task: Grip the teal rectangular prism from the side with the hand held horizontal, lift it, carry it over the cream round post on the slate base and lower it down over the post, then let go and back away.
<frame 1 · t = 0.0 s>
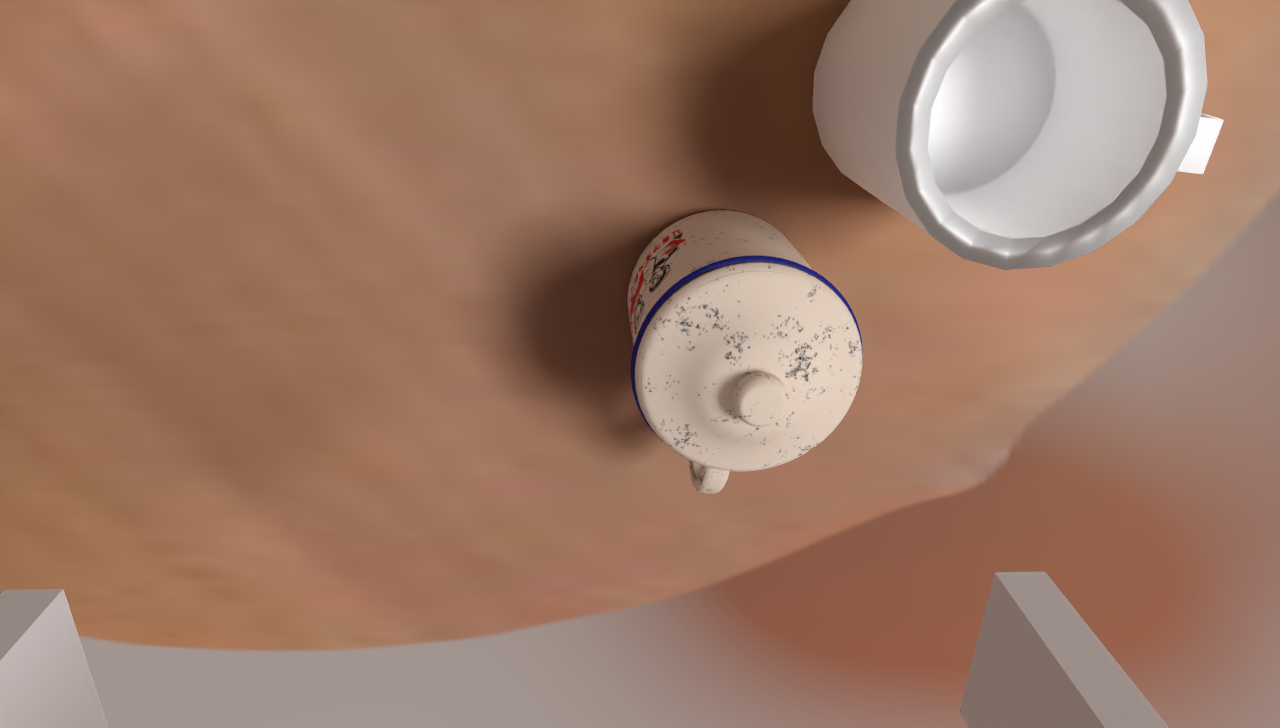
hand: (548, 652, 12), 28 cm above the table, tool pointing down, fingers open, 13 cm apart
teacup with lid: (710, 322, 40), on the table
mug: (947, 93, 37), on the table
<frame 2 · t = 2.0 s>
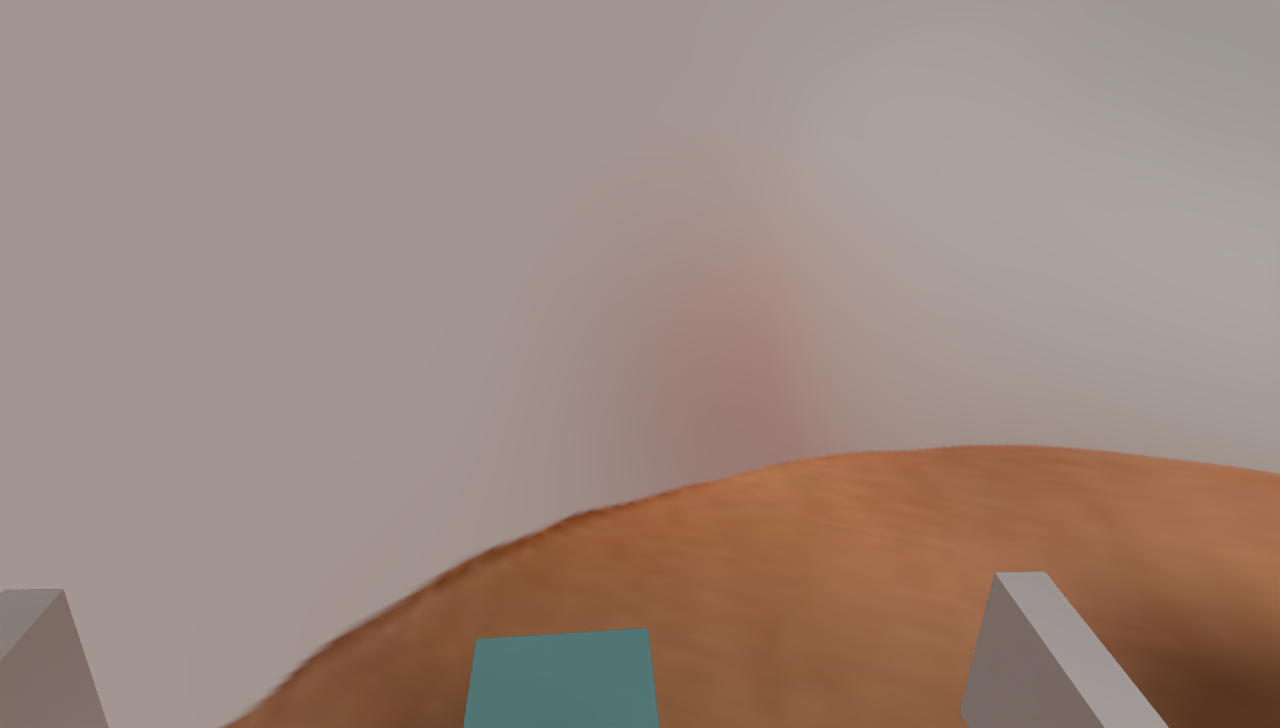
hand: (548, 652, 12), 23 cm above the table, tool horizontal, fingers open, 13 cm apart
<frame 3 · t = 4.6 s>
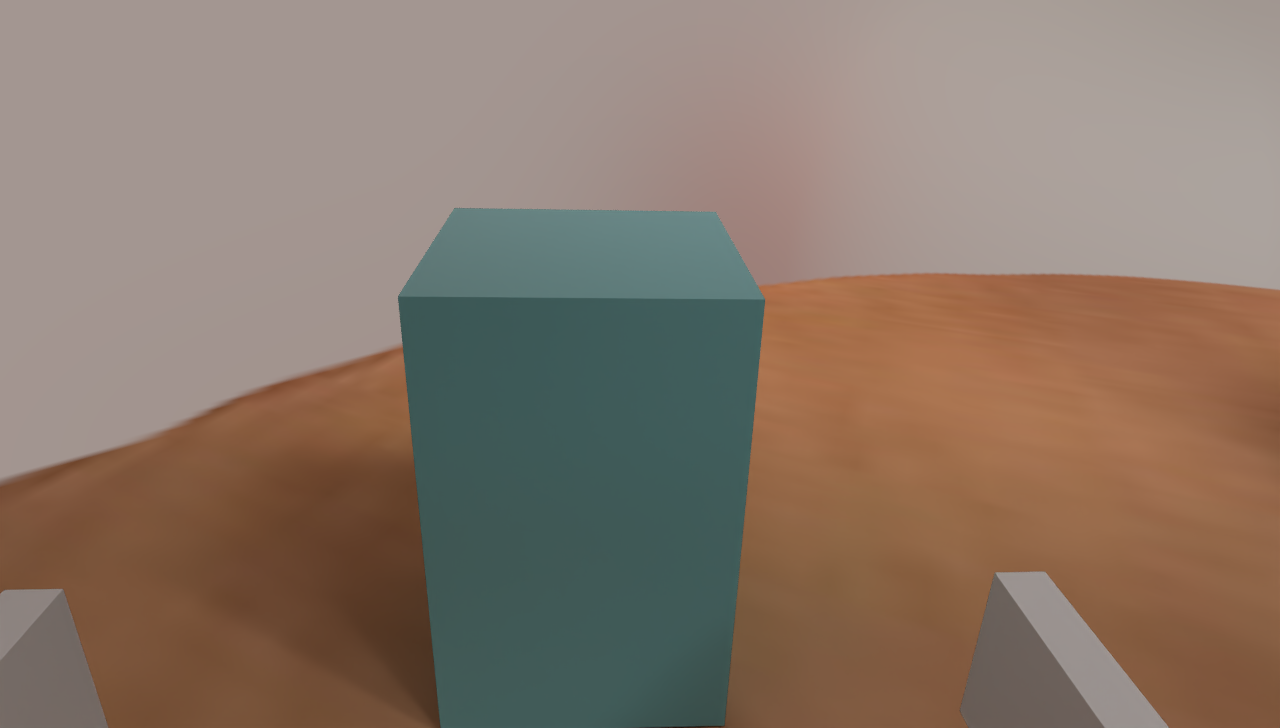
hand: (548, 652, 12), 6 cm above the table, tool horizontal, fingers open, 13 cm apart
teal rectangular prism: (585, 629, 21), on the table
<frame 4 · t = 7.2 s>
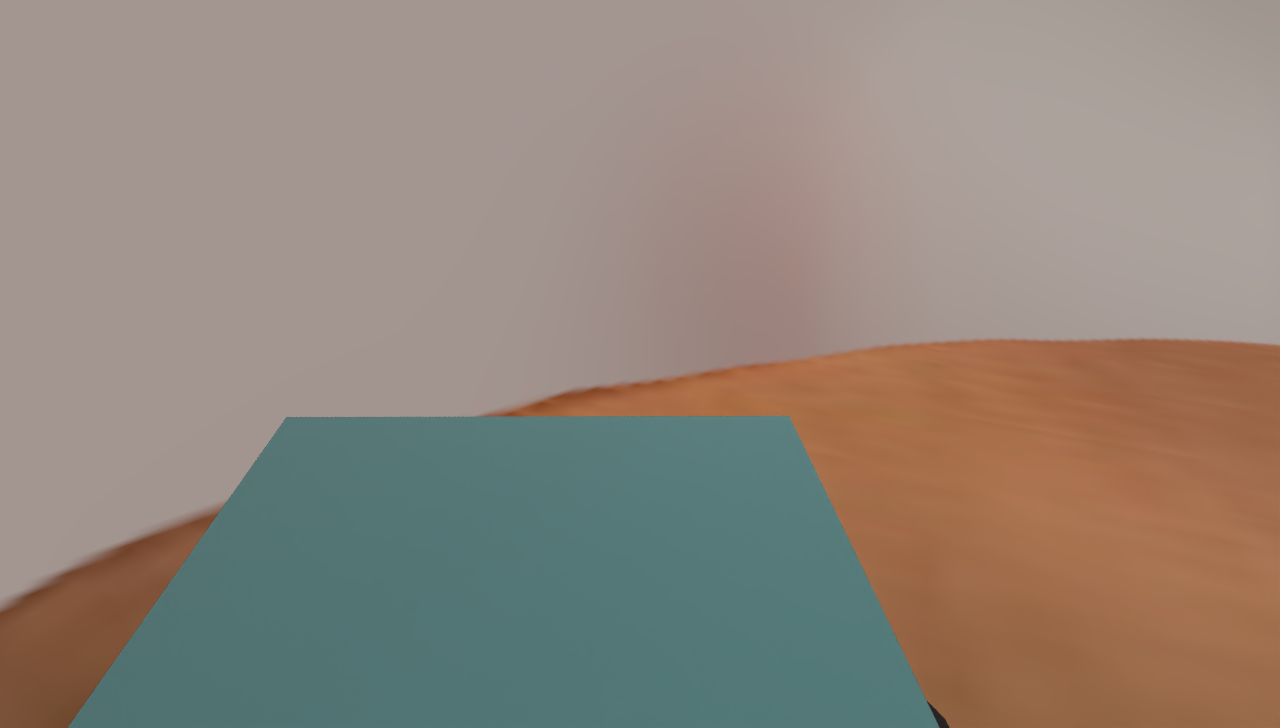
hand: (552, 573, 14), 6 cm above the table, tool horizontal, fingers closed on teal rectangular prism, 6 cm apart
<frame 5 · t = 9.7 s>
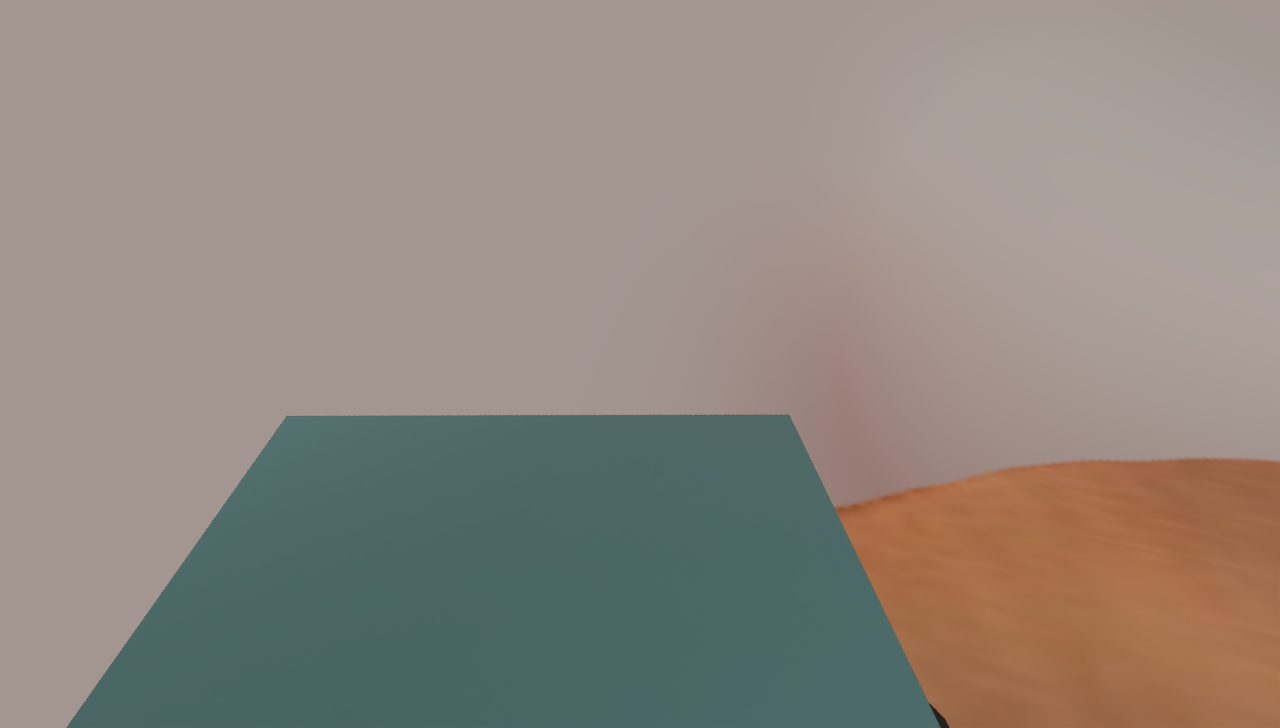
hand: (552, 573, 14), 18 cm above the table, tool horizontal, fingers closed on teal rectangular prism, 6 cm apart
when the fingers open (8 cm above the table, at t = 12.4 s): teal rectangular prism drops 1 cm, resting on post.
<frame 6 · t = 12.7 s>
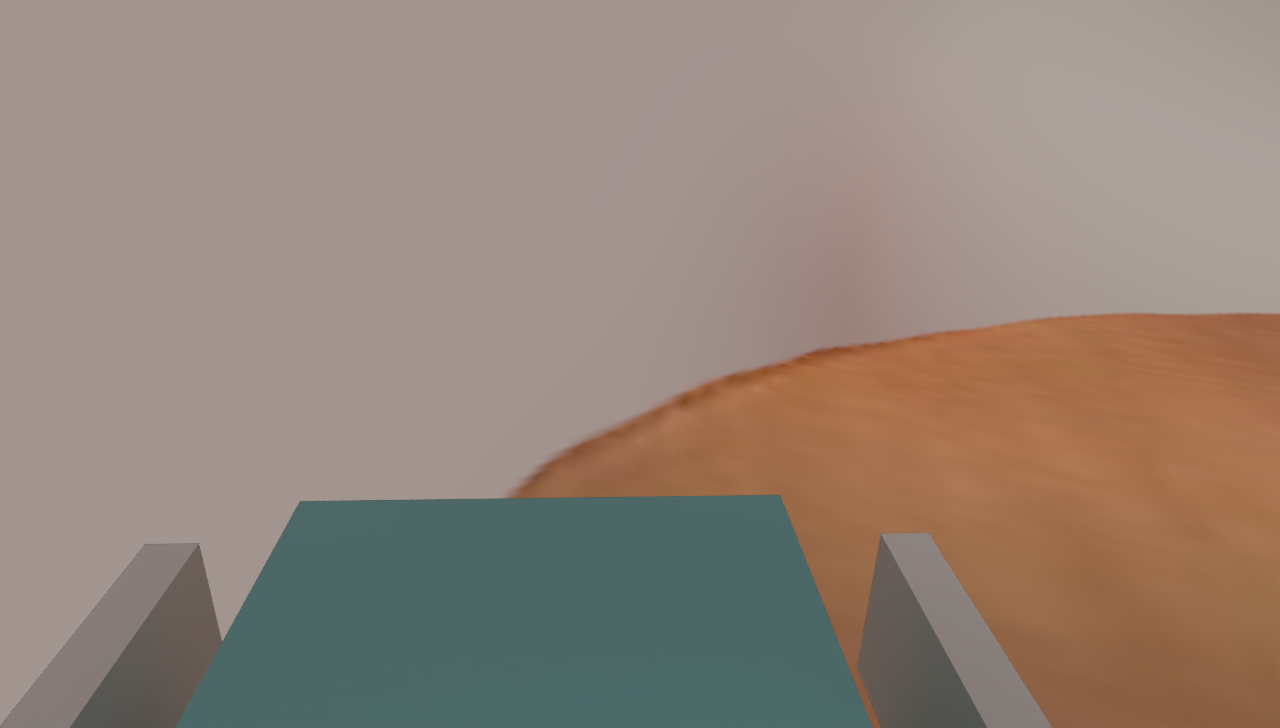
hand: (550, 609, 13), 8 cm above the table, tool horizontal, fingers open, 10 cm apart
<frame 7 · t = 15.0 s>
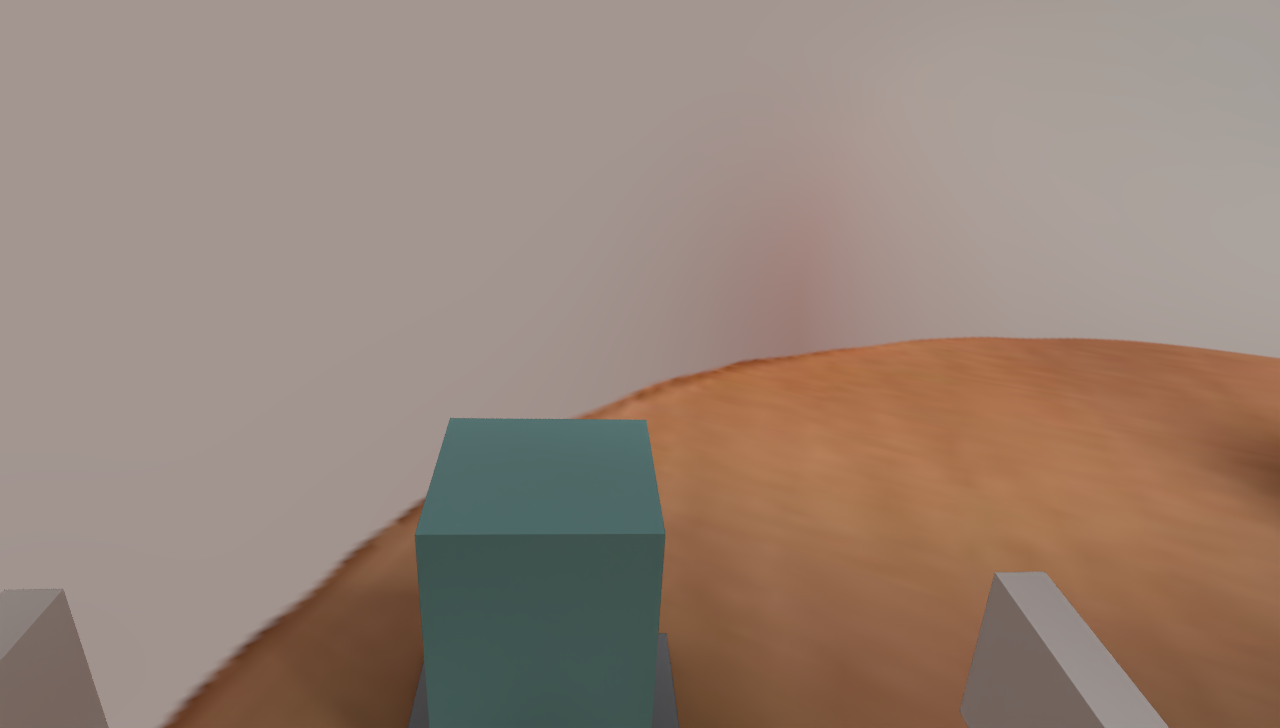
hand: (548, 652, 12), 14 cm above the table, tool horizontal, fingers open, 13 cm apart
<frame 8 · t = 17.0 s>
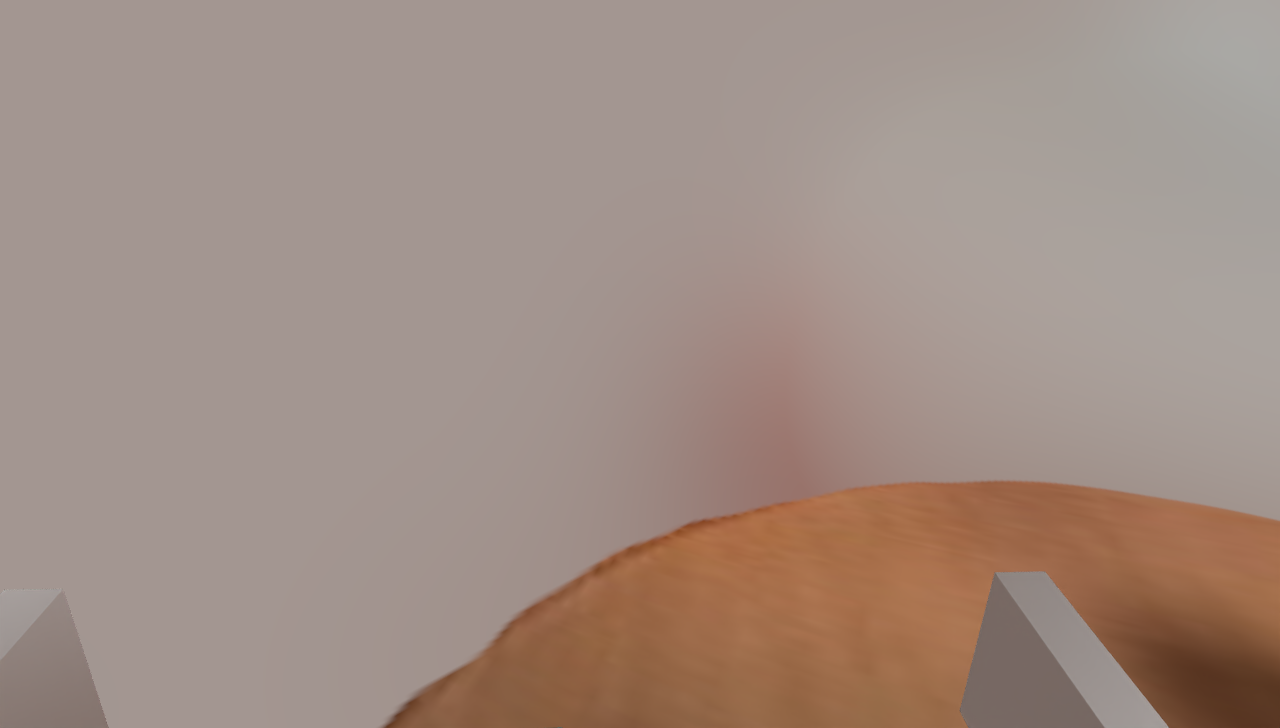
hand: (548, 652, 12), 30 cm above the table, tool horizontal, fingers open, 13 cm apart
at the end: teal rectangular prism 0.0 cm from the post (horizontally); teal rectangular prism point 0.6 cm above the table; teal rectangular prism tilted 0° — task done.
